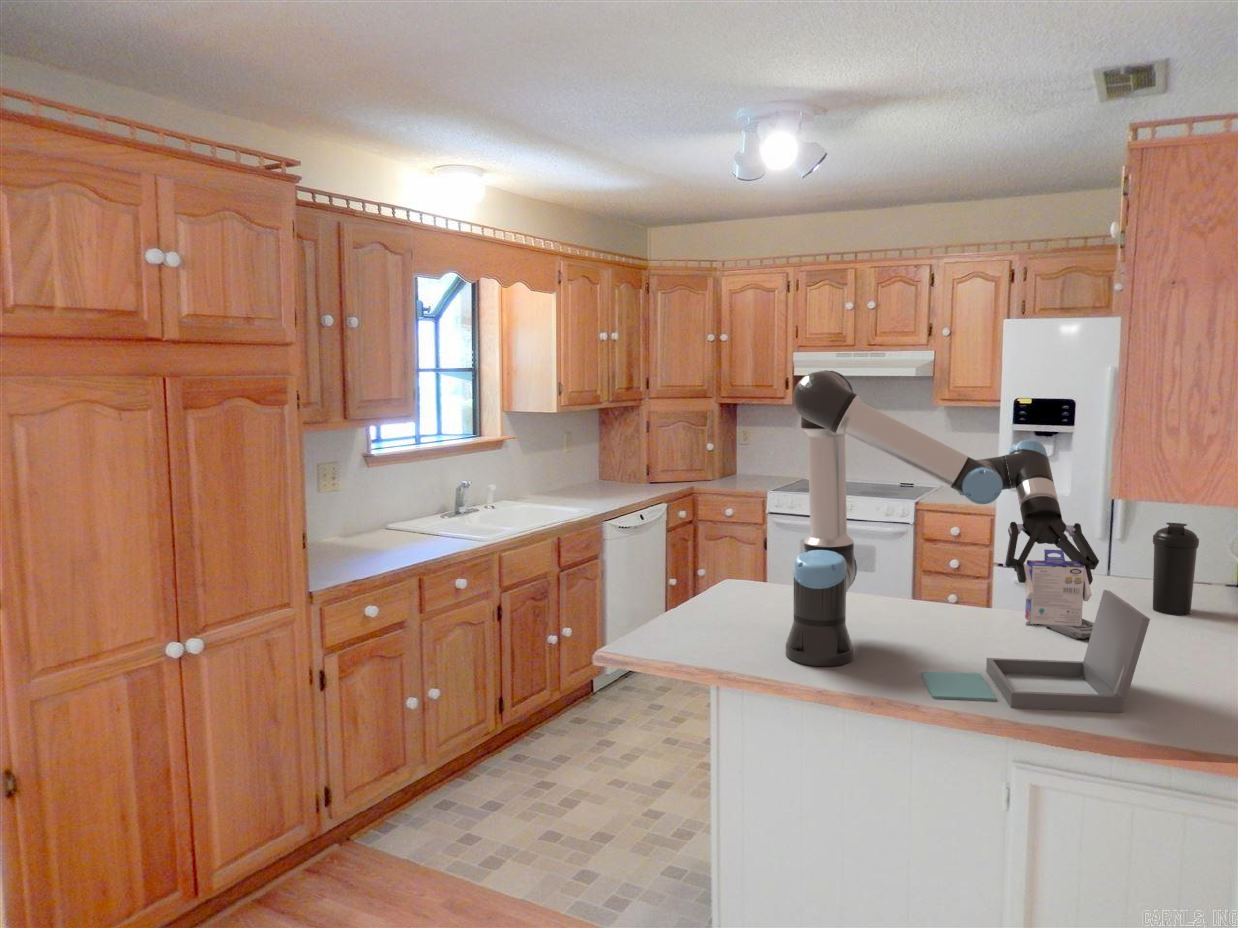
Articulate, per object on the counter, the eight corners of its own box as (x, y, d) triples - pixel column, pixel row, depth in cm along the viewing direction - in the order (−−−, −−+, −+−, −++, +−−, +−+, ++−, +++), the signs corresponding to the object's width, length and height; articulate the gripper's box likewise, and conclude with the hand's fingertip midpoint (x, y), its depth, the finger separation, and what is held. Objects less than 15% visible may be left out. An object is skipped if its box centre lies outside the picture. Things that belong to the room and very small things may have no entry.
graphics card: (1022, 612, 223) (1061, 606, 227) (1022, 626, 224) (1061, 620, 227) (1073, 632, 207) (1115, 626, 211) (1073, 648, 208) (1114, 641, 211)
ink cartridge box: (1074, 619, 180) (1078, 549, 178) (1083, 627, 175) (1087, 555, 173) (1022, 616, 182) (1026, 547, 180) (1029, 624, 176) (1033, 553, 175)
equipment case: (1010, 707, 172) (1014, 613, 169) (986, 671, 191) (989, 586, 189) (1144, 713, 168) (1150, 617, 165) (1105, 675, 187) (1109, 589, 185)
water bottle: (1194, 608, 234) (1199, 523, 231) (1194, 618, 226) (1200, 529, 223) (1149, 603, 240) (1154, 519, 237) (1148, 612, 231) (1153, 526, 228)
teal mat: (932, 698, 177) (932, 695, 177) (921, 673, 191) (921, 671, 191) (996, 700, 175) (996, 698, 175) (979, 675, 189) (979, 673, 189)
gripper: (1090, 515, 189) (1114, 608, 176) (979, 513, 193) (994, 604, 179) (1101, 495, 183) (1126, 589, 170) (986, 493, 187) (1002, 585, 173)
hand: (1058, 596), depth 174 cm, fingers closed on ink cartridge box, 10 cm apart
